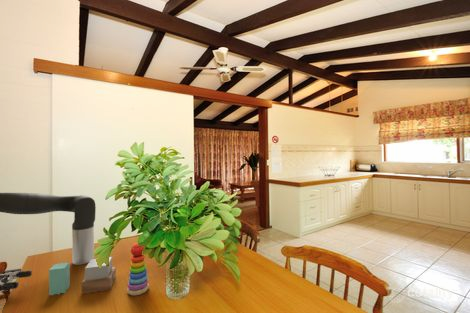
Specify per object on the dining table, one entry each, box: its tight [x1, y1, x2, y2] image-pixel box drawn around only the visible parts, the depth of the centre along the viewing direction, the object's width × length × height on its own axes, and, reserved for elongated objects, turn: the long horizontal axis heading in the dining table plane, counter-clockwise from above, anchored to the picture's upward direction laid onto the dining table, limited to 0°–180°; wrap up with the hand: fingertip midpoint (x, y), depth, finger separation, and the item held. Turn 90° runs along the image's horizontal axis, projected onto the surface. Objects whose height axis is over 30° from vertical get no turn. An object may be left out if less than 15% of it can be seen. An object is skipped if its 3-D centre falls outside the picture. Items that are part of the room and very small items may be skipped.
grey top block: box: [84, 256, 113, 281], centre depth 94 cm, size 8×8×5 cm
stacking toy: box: [126, 242, 150, 296], centre depth 91 cm, size 8×8×19 cm
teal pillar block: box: [48, 261, 71, 296], centre depth 91 cm, size 5×5×10 cm
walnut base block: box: [81, 266, 117, 295], centre depth 95 cm, size 10×10×5 cm
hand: (24, 278), depth 87 cm, fingers open, 8 cm apart
